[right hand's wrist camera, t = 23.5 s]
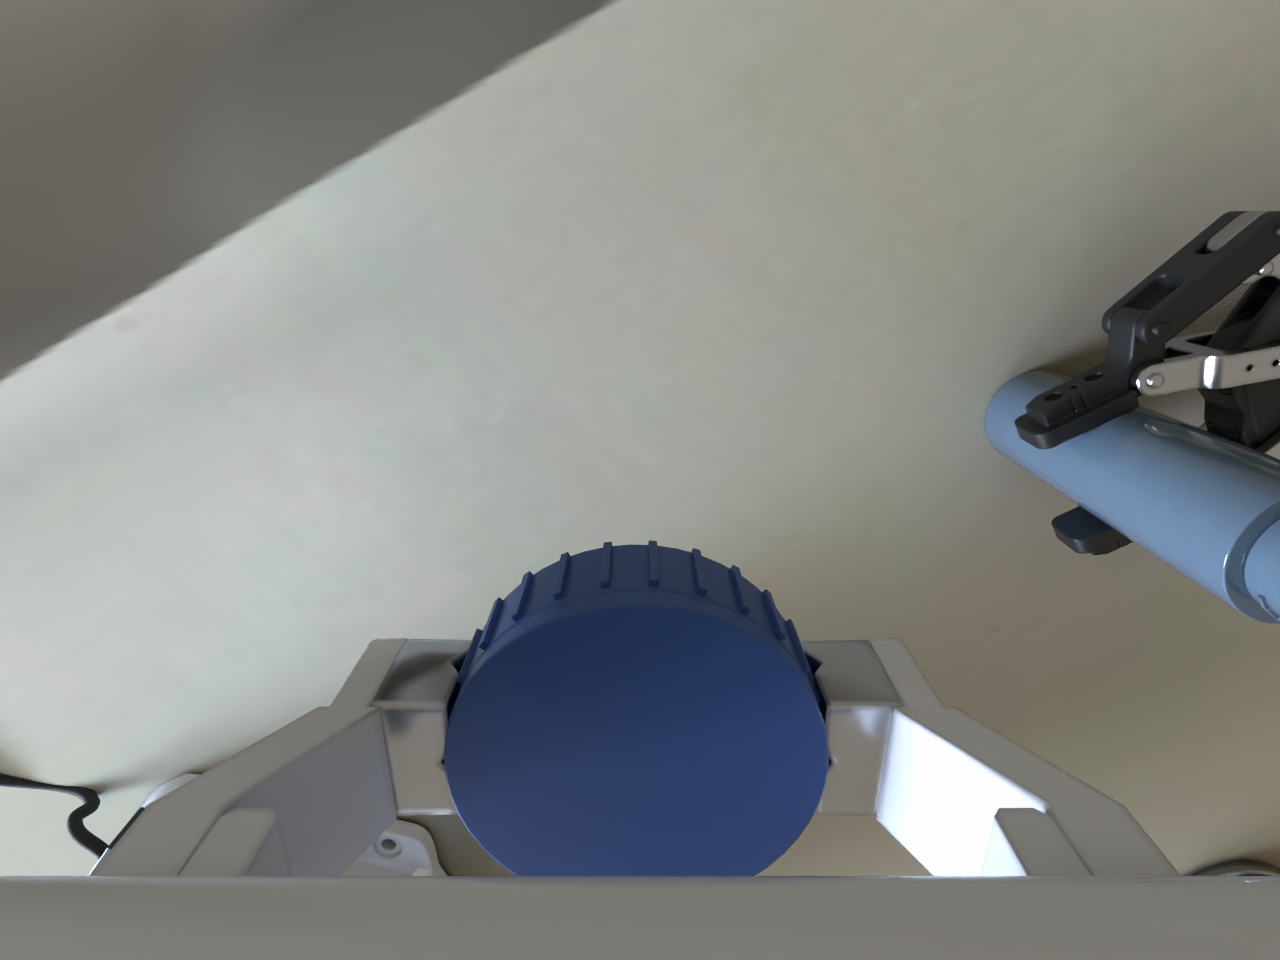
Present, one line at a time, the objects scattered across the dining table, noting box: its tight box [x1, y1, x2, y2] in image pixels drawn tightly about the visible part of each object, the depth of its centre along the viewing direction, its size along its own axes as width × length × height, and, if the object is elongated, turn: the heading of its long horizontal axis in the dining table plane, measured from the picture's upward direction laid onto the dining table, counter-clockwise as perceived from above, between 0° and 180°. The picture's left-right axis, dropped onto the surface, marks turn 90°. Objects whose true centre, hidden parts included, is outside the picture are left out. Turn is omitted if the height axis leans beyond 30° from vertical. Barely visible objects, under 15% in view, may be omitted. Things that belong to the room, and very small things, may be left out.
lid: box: [444, 541, 828, 876], centre depth 10 cm, size 5×5×2 cm
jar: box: [985, 370, 1280, 624], centre depth 26 cm, size 4×4×16 cm
